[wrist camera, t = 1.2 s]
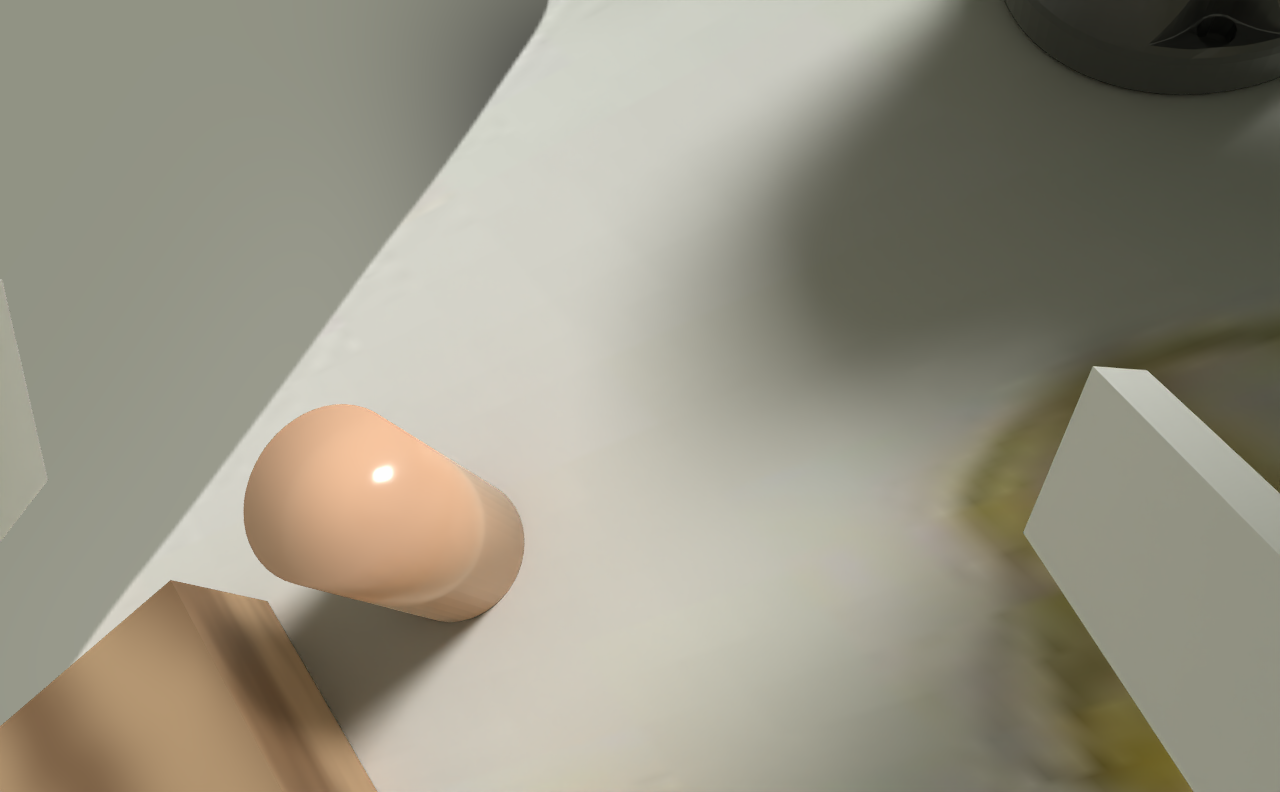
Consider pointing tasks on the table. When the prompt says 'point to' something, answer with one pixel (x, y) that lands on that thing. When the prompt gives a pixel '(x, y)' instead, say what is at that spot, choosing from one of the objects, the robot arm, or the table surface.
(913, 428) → the table surface
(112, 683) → the walnut block
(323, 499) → the peach rounded cylinder
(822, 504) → the table surface
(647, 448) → the table surface
